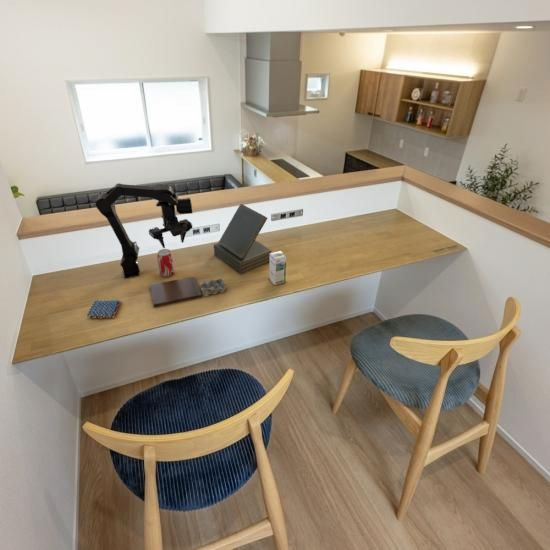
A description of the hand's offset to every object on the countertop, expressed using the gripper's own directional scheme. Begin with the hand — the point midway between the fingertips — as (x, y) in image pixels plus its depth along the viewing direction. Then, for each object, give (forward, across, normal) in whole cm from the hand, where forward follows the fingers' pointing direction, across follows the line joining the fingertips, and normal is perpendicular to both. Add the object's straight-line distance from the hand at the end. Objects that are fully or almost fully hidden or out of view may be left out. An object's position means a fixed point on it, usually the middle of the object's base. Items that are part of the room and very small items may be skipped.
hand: (173, 245), depth 169 cm
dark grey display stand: (+14, +32, -10) cm, 36 cm away
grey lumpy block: (+14, +5, -25) cm, 29 cm away
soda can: (+14, -5, -1) cm, 15 cm away
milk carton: (+13, +33, -36) cm, 51 cm away
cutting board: (+14, -9, -17) cm, 23 cm away
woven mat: (+14, -37, -11) cm, 41 cm away
